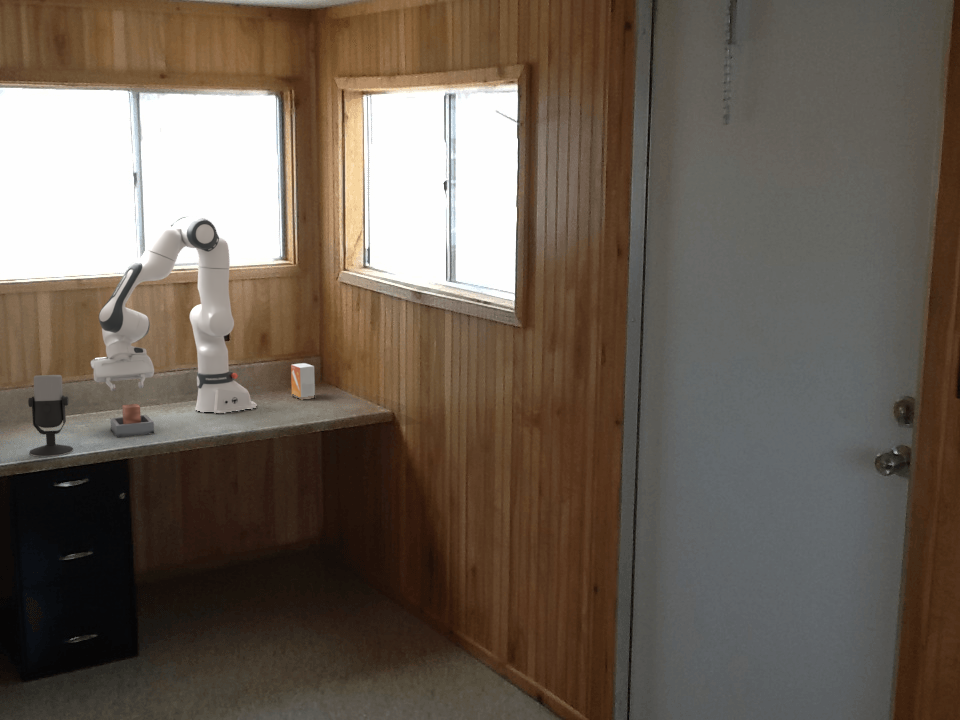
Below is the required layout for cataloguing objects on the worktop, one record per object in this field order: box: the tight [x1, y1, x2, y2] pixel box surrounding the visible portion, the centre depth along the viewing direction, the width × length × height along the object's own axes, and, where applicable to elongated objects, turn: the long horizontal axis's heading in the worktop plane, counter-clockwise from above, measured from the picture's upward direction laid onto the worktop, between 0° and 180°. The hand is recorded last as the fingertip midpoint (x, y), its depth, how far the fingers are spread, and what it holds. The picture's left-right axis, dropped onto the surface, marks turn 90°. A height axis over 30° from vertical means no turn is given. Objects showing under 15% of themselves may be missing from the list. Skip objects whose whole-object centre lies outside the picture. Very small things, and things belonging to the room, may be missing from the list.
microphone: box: [27, 374, 74, 457], centre depth 361 cm, size 13×13×25 cm
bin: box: [109, 414, 155, 438], centre depth 389 cm, size 12×12×4 cm
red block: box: [121, 403, 142, 424], centre depth 389 cm, size 5×5×8 cm
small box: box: [290, 362, 316, 397], centre depth 443 cm, size 8×6×13 cm
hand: (127, 388), depth 393 cm, fingers open, 8 cm apart
